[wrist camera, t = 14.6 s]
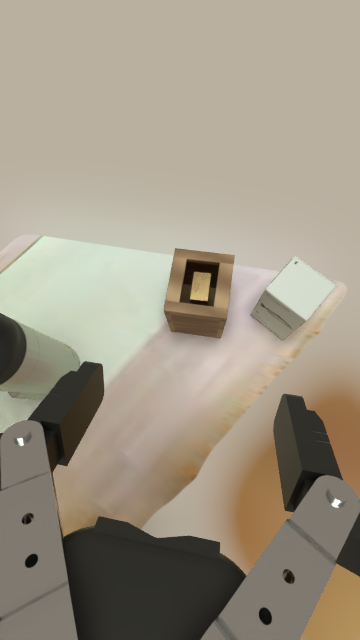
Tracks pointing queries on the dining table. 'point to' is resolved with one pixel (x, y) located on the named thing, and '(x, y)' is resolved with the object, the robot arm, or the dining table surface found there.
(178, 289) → the brown wooden bin
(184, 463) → the dining table surface
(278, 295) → the supplement box
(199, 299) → the gold rectangular block
